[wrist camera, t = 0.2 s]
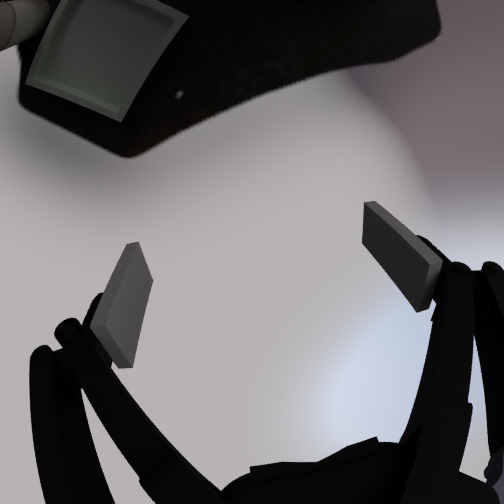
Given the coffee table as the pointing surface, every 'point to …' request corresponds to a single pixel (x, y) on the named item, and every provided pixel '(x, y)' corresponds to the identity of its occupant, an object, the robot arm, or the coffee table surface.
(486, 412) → the robot arm
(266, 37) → the coffee table surface
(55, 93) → the sage tray
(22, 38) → the cream canister
